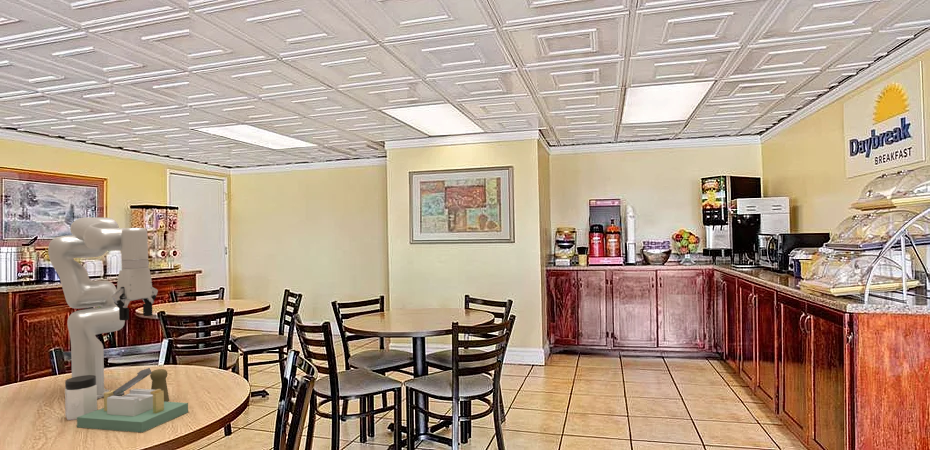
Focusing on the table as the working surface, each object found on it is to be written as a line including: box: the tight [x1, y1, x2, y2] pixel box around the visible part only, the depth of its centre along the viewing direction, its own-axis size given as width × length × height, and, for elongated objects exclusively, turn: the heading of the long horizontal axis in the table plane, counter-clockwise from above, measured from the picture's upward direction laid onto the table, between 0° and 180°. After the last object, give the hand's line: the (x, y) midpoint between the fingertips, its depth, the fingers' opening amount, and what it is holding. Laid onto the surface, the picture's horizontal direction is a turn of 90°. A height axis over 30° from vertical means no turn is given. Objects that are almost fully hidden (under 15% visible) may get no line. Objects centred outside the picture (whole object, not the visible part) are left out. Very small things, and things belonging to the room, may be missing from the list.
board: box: [76, 388, 189, 433], centre depth 169 cm, size 24×18×8 cm
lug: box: [151, 389, 164, 413], centre depth 167 cm, size 2×3×6 cm, turn 165°
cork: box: [149, 368, 170, 402], centre depth 188 cm, size 6×6×11 cm
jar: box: [64, 375, 98, 421], centre depth 175 cm, size 9×8×12 cm
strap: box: [113, 367, 152, 395], centre depth 170 cm, size 13×3×2 cm, turn 75°
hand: (136, 317), depth 178 cm, fingers open, 8 cm apart
